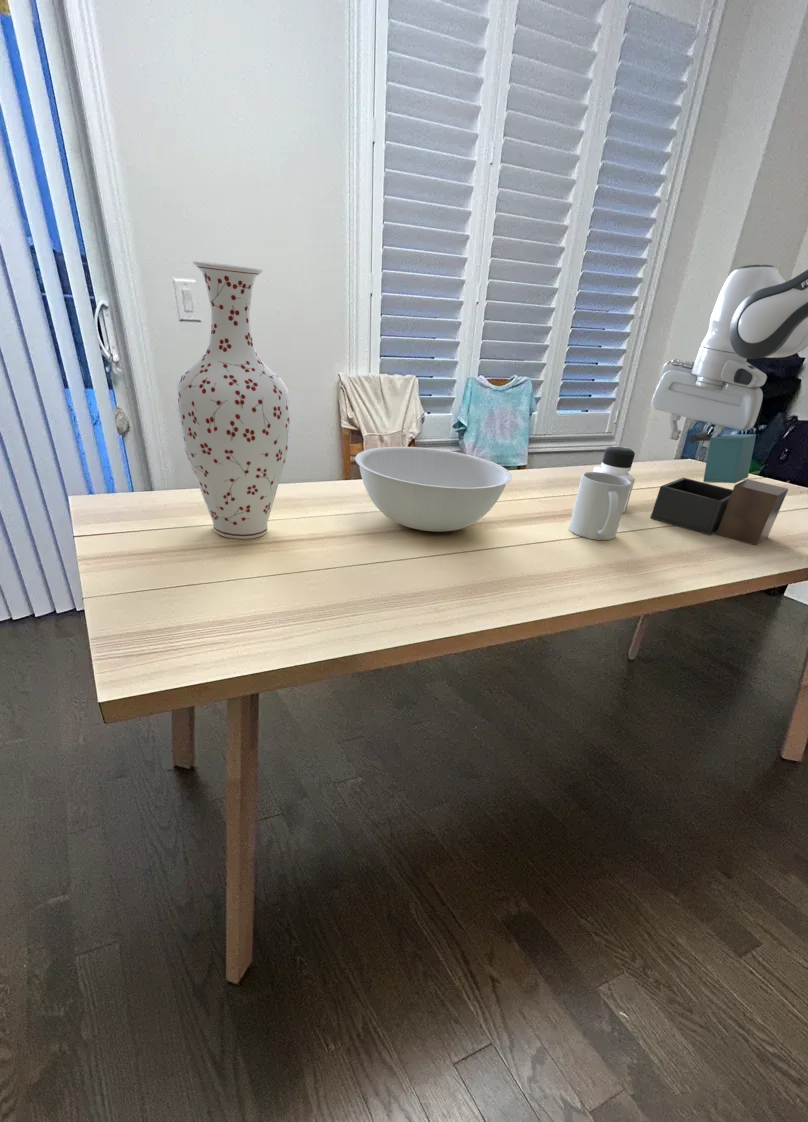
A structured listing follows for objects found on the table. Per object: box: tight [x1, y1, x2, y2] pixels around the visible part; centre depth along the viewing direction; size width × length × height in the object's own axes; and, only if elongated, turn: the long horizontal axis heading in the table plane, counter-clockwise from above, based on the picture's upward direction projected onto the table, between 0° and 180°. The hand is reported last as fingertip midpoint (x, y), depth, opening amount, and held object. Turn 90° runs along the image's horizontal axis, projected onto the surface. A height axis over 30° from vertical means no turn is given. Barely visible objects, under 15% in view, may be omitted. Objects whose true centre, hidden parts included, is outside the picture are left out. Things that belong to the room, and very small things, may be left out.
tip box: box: [688, 431, 757, 484], centre depth 127 cm, size 9×9×10 cm
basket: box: [650, 477, 733, 536], centre depth 133 cm, size 13×14×7 cm
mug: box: [568, 471, 631, 541], centre depth 117 cm, size 11×10×10 cm
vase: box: [175, 260, 291, 540], centre depth 92 cm, size 16×16×35 cm
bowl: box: [354, 446, 513, 533], centre depth 112 cm, size 27×27×10 cm
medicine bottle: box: [592, 445, 636, 513], centre depth 134 cm, size 7×7×12 cm
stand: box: [715, 478, 789, 546], centre depth 127 cm, size 8×9×10 cm
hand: (689, 443), depth 129 cm, fingers open, 6 cm apart
